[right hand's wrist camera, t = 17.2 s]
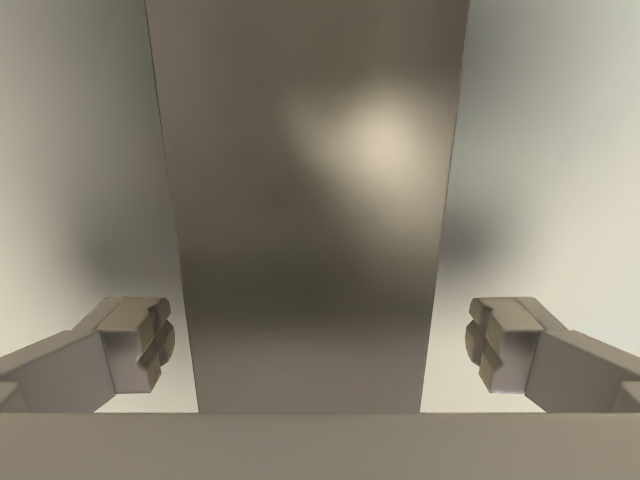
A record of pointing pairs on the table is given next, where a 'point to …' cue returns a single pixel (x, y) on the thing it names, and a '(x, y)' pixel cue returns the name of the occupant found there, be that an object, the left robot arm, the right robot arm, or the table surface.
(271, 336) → the bar
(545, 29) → the table surface
